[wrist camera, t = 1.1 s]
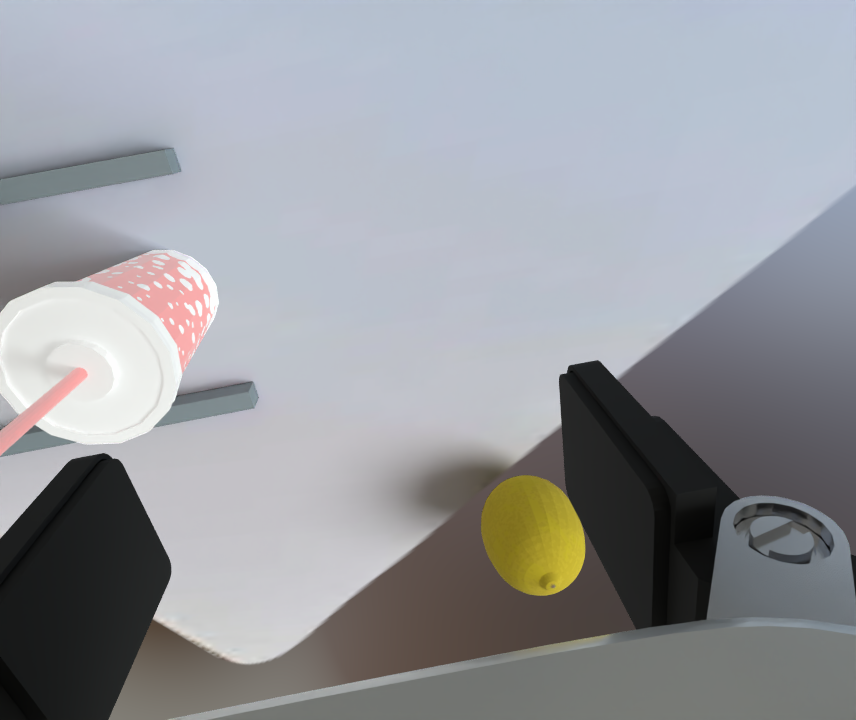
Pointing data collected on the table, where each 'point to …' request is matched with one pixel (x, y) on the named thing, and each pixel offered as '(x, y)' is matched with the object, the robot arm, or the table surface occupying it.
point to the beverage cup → (104, 348)
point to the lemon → (533, 535)
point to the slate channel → (98, 177)
